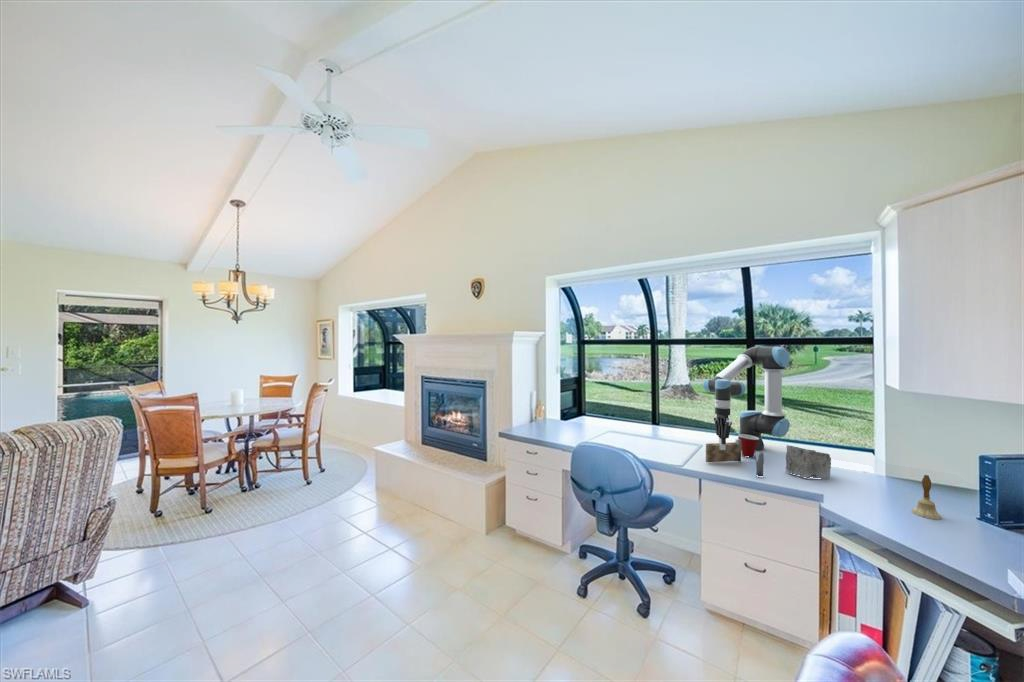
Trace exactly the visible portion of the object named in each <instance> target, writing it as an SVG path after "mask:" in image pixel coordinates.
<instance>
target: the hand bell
mask: <svg viewBox="0 0 1024 682" xmlns="http://www.w3.org/2000/svg"><path fill="white" fill-rule="evenodd" d="M921 487H922V488H923V489H922V490H923V498H921V499H918V501H917V505H916V506H915V508H912V509H911V513H913V514H914V515H916V516H918V517H921V518H926V519H929V520H937V521H939V520H942V516H941V515H940V514H939V512H938V511H937V508H936V503H935V502H934V501H932V500H931V497H930V490H931V489H932V480H931V478H930V475H928V474H923V478H922V479H921Z"/></svg>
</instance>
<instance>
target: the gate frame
mask: <svg viewBox="0 0 1024 682" xmlns="http://www.w3.org/2000/svg"><path fill="white" fill-rule="evenodd" d="M734 442H738V443H739V461H741V462H742V451H741V442H742V440H740V439H738V438H736V439H735V440H734ZM764 456H765V454H764V453H763V452H761V451H760V452H759V451H758V452H756V461H755V462H756V469H755V470H756V473H755V474H756V475H758V476H763V477H764V461H765V458H764ZM756 475H755V476H756Z"/></svg>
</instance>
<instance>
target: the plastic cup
mask: <svg viewBox="0 0 1024 682" xmlns="http://www.w3.org/2000/svg"><path fill="white" fill-rule="evenodd" d="M738 437H739V439H740V440H742V442H741V456H743V455H744V456H743V457H745V456H749V457H748V458H754V457H755V456H754V455H755V454H756V453H755V452H756V450H755V449H756V445H757V442H758V440H759V438H758V437H755V436H751V435H746V434H740V433H738ZM753 456H754V457H753Z"/></svg>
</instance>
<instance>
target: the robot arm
mask: <svg viewBox="0 0 1024 682" xmlns="http://www.w3.org/2000/svg"><path fill="white" fill-rule="evenodd" d="M790 362H791V357H790V354H789V351H788V349H786V348H785V347H782V346H763V345H762V346H761V345H759V346H758V345H757V346H753V347H749V348H747V349H746V350H744V351H742V352H741V353H739V354H738V355H737V357H736V359H735V360H734V361H732V362H731V363H730V364H729V365H727V366H726V367H725V368H724V369H722V370H721V371H720V372H719V373H718V374H716V375H715V376H714V377H712V378H705V379H704V380H703V382H702V388H703V390H704V391H706V392H709V393H714V395H715V397H714V404H715V405H714V414H715V415H716V417H713V421H714V427H715V434H716V436H717V437H718V443H719V449H720V450H725V449H726V443H727V441H726V440H727V439H729V437H730V433H731V427H732V425H733V423H732V422H733V421H730V419H729V416H730V415H731V406H732V405H731V397H733V396H742V395H744V394H745V392H746V390H747V388H746V385H745V384H744V383H743V382H740V381H733V380H734V379H735V378H736V377H737V376H738V375H740V374H741V373H742V372H744V371H745V370H746V369H749V368H751V367H752V366H756V365H757V366H761V370H763V371H764V410H763V411H760V410H742V411H741V412H740V415H739V434H746V435H751V436H755V437H758V438H759V440H758V442H757V445H756V449H755V451H763V450H764V449H765V444H764V441H763V438H762V434H763V435H768V436H772V437H774V438H775V437H777V438H783V437H785V436H786V435H787V433H788V432H789V430H790V423H791V422H790V420H789V419H787V418H785V417H786V414H785V413H784V412H783V409H782V407H783V406H782V405H783V399H782V398H783V393H782V392H783V385H782V383H783V372H784V371H785V370H786V367H788V366H789V364H790ZM737 439H739V436H738V438H737Z"/></svg>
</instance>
